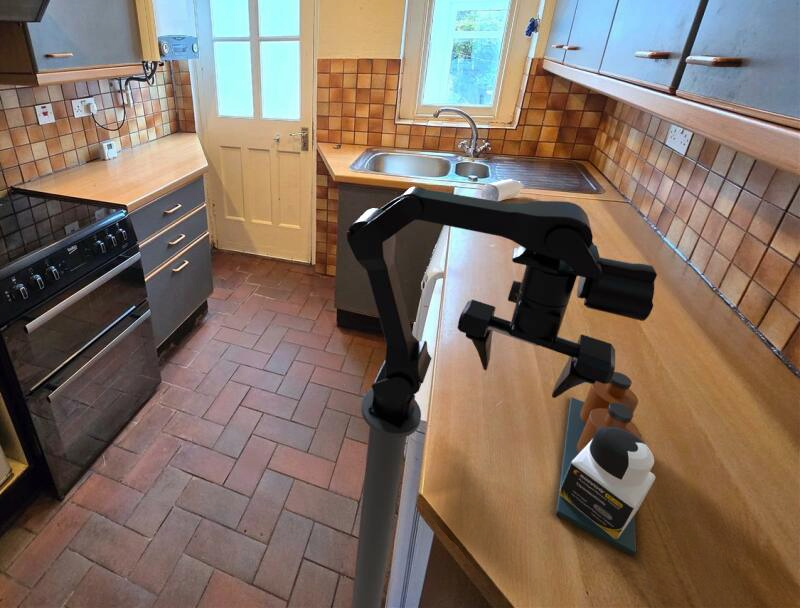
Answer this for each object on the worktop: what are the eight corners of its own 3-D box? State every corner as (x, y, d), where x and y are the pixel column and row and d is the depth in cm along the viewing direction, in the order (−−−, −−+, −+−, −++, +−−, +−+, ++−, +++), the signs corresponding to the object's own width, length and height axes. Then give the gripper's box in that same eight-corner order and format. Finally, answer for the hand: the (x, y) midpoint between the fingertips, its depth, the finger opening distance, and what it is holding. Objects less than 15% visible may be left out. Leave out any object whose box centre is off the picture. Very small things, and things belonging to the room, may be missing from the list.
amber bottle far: (578, 426, 68) (596, 381, 63) (581, 402, 72) (598, 359, 68) (624, 445, 64) (646, 399, 60) (623, 419, 69) (644, 374, 65)
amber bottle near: (575, 460, 62) (595, 414, 58) (578, 432, 66) (596, 387, 62) (624, 483, 59) (649, 435, 55) (624, 452, 63) (646, 406, 59)
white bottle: (526, 198, 167) (531, 179, 164) (496, 206, 159) (500, 187, 156) (509, 192, 173) (513, 174, 170) (479, 199, 166) (482, 181, 162)
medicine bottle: (557, 494, 57) (581, 436, 53) (581, 467, 61) (606, 410, 56) (616, 541, 52) (649, 481, 47) (638, 509, 56) (671, 449, 51)
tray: (555, 514, 56) (557, 510, 56) (569, 400, 74) (571, 396, 73) (633, 556, 51) (636, 552, 51) (628, 424, 69) (630, 420, 68)
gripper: (629, 289, 55) (595, 375, 62) (484, 252, 66) (467, 330, 72) (631, 333, 47) (592, 427, 54) (465, 283, 58) (448, 367, 64)
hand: (518, 381), depth 61 cm, fingers open, 9 cm apart
